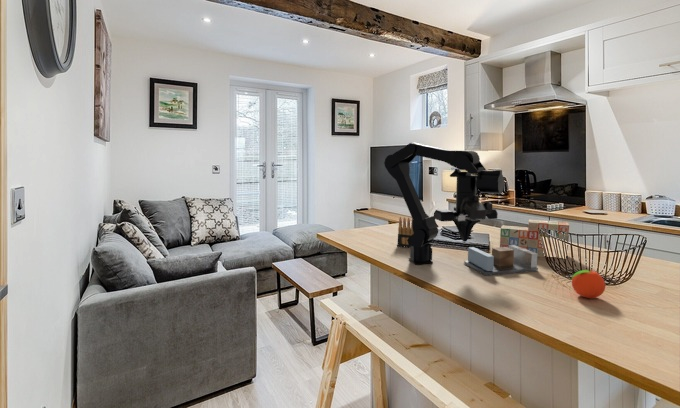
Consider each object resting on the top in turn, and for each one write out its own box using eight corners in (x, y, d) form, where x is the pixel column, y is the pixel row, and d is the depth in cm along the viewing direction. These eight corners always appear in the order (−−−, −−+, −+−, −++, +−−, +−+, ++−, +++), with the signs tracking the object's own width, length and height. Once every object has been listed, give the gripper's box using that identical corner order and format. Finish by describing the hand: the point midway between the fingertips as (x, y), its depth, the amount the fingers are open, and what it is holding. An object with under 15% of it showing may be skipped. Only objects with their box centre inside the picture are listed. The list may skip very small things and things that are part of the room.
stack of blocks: (499, 252, 130) (500, 220, 128) (500, 248, 135) (502, 217, 134) (567, 259, 119) (569, 224, 118) (566, 255, 125) (568, 221, 123)
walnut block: (499, 266, 110) (499, 251, 110) (491, 262, 114) (492, 247, 114) (513, 265, 111) (514, 250, 111) (505, 261, 115) (505, 246, 114)
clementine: (578, 303, 85) (580, 275, 84) (560, 292, 92) (562, 266, 91) (611, 302, 85) (613, 274, 84) (590, 291, 92) (593, 265, 91)
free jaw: (487, 271, 106) (487, 256, 105) (467, 260, 116) (468, 247, 116) (493, 270, 106) (493, 256, 105) (473, 260, 117) (473, 247, 116)
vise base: (485, 275, 105) (485, 258, 104) (464, 263, 117) (464, 247, 116) (537, 271, 108) (538, 253, 108) (512, 260, 120) (512, 244, 119)
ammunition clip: (397, 246, 142) (397, 217, 140) (399, 245, 143) (399, 216, 142) (422, 249, 136) (423, 219, 134) (424, 248, 138) (424, 218, 136)
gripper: (450, 195, 98) (449, 250, 100) (510, 193, 101) (507, 245, 103) (433, 191, 108) (432, 240, 111) (487, 189, 112) (485, 237, 114)
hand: (464, 241), depth 109 cm, fingers closed
